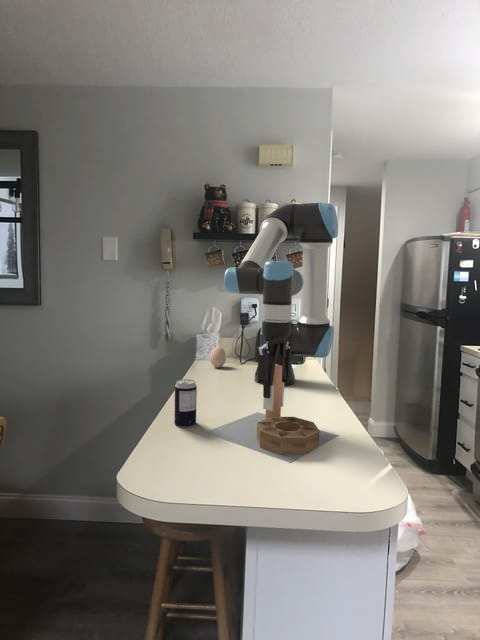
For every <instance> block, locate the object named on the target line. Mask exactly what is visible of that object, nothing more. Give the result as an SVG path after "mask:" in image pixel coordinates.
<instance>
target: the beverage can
mask: <svg viewBox="0 0 480 640" xmlns="http://www.w3.org/2000/svg"><path fill="white" fill-rule="evenodd" d="M197 389H198V386H197V384H196V381H195V380H194V379H189V378H188V379H179V380H176V384H175V385H174V424H175V425H176V426H177V427H179V428H189V427H193V426H195V425H196V423H197V395H198V393H197V392H198V390H197Z"/></svg>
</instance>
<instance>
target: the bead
mask: <svg viewBox="0 0 480 640" xmlns="http://www.w3.org/2000/svg"><path fill="white" fill-rule="evenodd" d="M320 430H321V429H319V428H318V426H317V425H316V424H315V423H314V421H312V420H311V421H310V420H307V419H304V418H299V417H296V416H281V417H269V418H267V419H264V420H262V421H259V422H257V441H258V444H259V447H260V448H262V449H265V450H268V451H271V452H274V453H277V454H280V455H302V454H306V455H308V454H310V453H311V452H313V451H315V450H317V449H318V448H320V447H319V433H320ZM316 448H317V449H316ZM314 449H315V450H314ZM309 452H310V453H309ZM307 453H308V454H307Z"/></svg>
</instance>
